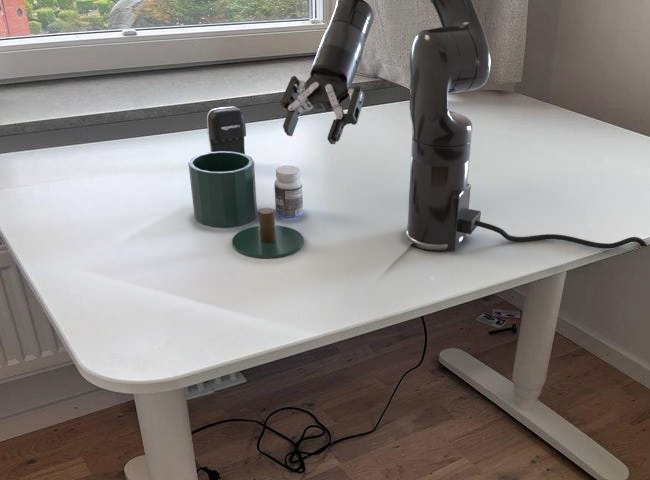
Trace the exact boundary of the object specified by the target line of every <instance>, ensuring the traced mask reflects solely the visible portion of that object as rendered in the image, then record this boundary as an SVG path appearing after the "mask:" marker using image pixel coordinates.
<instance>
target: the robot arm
mask: <svg viewBox="0 0 650 480" xmlns="http://www.w3.org/2000/svg"><path fill="white" fill-rule="evenodd" d="M429 3H431V5H432V6H433V8H434V11H435V13H436V14H437V17H438V20H439V22H440V26H439V27H430V28H425V29H422V30H420V31H419V32H417V34H416V35H415V37H414V39H413V41H412V44H411V47H410V52H409V116H410V121H411V127H412V128H411V152H410V153H411V154H410V170H409V190H408V191H409V192H408V209H407V210H408V211H407V226H406V227H407V229H406V238H407V240H408V241H409V242H410V243H411V245H412V246H413V247H416V248H419V249H422V250H426V251H433V252H434V251H436V252H437V251H438V252H439V251H440V252H441V251H450V252H455V251H456V250H457V249H458V248H459V246H461V245H462V243H463V242H464V241H465V239H466V238H467V235H472V233H473V232H474V231H475V230H476V229H477V227H479V228H482V229H486V230H489V231H492V232H495V233H498V234H499V235H501V236H502V238H504V239H505V240H507V241H509V242H515V243H523V242H525V243H527V242H535V241H536V242H537V241H542V240H557V241H564V242H568V243H569V242H570V243H574V244H578V245H582V246H585V247H586V246H587V247H590V248H594V249H595V248H597V249H605V250H609V249H610V250H611V249H616V248H619V247H623V246H625V245H628V244H630V243H637V244H639V245H640V246H641V247H647V246H648V244H647V243H646V241H645V240H644V239H642V238H641V237H638V236H630V237H627V238H624V239H621V240H619V241H615V242H609V243H607V242H606V243H604V242H596V241H590V240H587V239H582V238H578V237H574V236H570V235H565V234H558V233H557V234H556V233H546V234H536V235H529V236H516V235H511V234H509V233H508V232H507V231H506V230H504V229H503V228H501V227H498V226H497V225H493V224H490V223H487V222H483V221H481V215H482V211H481V210H476V209H471V208H470V199H471V190H472V189H471V188H472V185H471V184H470V183H468V178H469V170H470V169H469V168H470V167H469V166H470V157H471V148H472V138H473V137H472V136H473V123H472V120H470V118H468V117H467V116H465V115H463V114H461V113H458V112H455V111H451V110H449V109H450V108H449V95H450V94H459V93H464V92H465V93H466V92H472V91H476V90H479V89H481V88H482V87H484V86H485V85H486V84H487V81H488V80H489V78H490V73H491V69H492V58H491V51H490V45H489V41H488V39H487V35H486V32H485V30H484V27H483V24H482V22H481V19H480V17H479V14H478V11H477V8H476V6H475V4H474V0H429ZM374 16H375V13H374V9H373V7H372V6H371V5H370V4H369V3H368V2H367V1H365V0H336V2H335V7H334V9H333V13H332V15H331V18H330V21H329V23H328V25H327V28H326V30H325V32H324V34H323V36H322V38H321V41H320V43H319V46H318V49H317V52H316V55H315V57H314V60H313V63H312V65H311V68H310V73H309V77H308V78H307V79H306V80H302V79H298V77H297V76H296V75H293V76H291V77H290V80H289V82H288V84H287V87H286V88H285V90H284V93H283V96H282V98H281V99H280V102H279V103H280V106H281V107H282V108H283V110H284V111H285V113H286V116H285V119H284V122H283V125H282V129H283V131H284V133H285V135H286V136H289V137H293V135H294V133H295V130H296V127H297V125H298V121H299V117H300V116H301V115H303V114H304V113H305V112H309V111H311V110H312V109H315V110H316V109H317V110H325V111H327V112H331V110H332V111H333V112H334V115H335V119H333V120H332V123H331V126H330V129H329V131H328V135H327V141H328V142H329V144H330V145H336V143H338V142H339V141H340V140H341V138H342V134H343V131H344V128H345V126H347V125H353V126H355V125H357V124H358V121H359V118H360V116H361V115H360V114H361V111H362V107H363V104H364V101H365V97H366V96H365V94H364V91H363V89H362V88H361V87H360V86H358V85H357V86H355V87H354V88H351V87H352V85H353V82H354V79H355V76H356V73H357V71H358V68H359V65H360V63H361V61H362V57H363V54H364V50H365V46H366V45H365V44H366V42H367V39H368V36H369V33H370V30H371V28H372V25H373V22H374V18H375V17H374ZM303 90H304V91H303ZM347 99H349V100H350V101H349V105H348V109H347V112H346V113H345V112H344V109H343V106H342V103H343V102H345V101H346V100H347ZM307 100H308V102H307Z"/></svg>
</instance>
